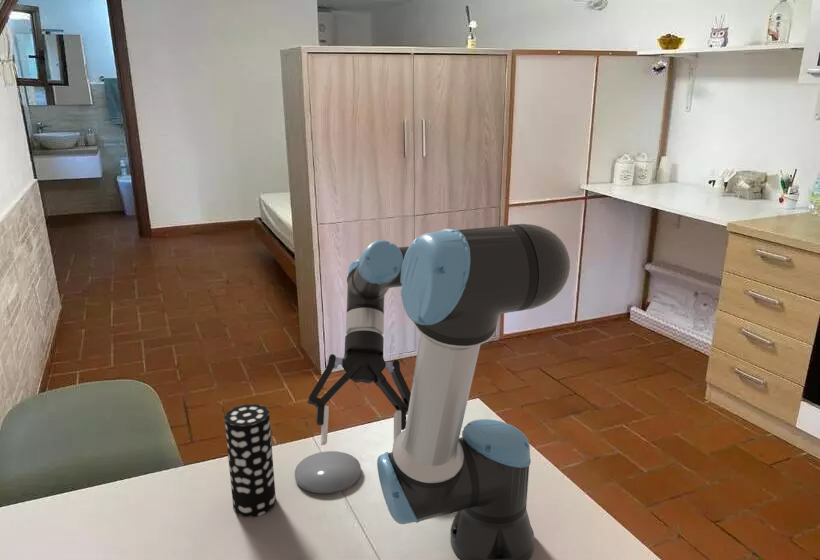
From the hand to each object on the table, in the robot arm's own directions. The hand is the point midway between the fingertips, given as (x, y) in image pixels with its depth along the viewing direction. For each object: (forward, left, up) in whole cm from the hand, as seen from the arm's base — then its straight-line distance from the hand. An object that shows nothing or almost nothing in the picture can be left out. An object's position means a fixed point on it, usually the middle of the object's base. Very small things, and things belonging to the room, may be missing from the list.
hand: (361, 445), depth 114 cm
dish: (+17, -6, -18) cm, 25 cm away
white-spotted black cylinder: (+21, +10, -18) cm, 29 cm away
